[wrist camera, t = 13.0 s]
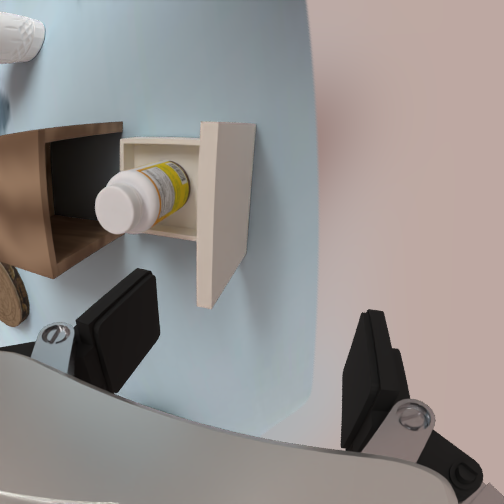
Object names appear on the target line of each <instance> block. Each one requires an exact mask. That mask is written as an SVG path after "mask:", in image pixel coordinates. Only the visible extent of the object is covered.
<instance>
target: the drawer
mask: <svg viewBox="0 0 504 504" xmlns="http://www.w3.org/2000/svg"><path fill="white" fill-rule="evenodd" d="M255 130H256V124H254V123H236V122H201V127H200V138H184V137H131V138H123V139H120V172H122V171H125V170H129V169H132V168H136V167H139V166H143V165H146V164H150V163H153V162H157V161H162V160H171V161H174V162H177V163H178V164H180V165H181V166H182V167H183V168H184V169H185V170H186V171H187V173H188V175H189V177H190V180H191V194H190V197H189V199H188V201H187V203H186V204H185V205H184V206H183V207H182V208H181V209H179V210H178V211H176V212H174V213H173V214H171V215H170V216H168V217H167V218H165V219H163V220H162V221H160V222H159V223H157V224H156V225H154V226H153V227H151V228H150V229H148V230H146V231H144V232H142V233H146V234H152V235H159V236H165V237H172V238H178V239H185V240H191V241H197V306H198V307H203V308H208V309H212V308H213V306H214V304H215V303H216V301H217V300H218V298H219V296H220V295H221V293H222V292H223V290H224V288H225V287H226V285H227V283H228V282H229V280H230V279H231V277H232V275H233V274H234V272H235V271H236V269H237V267H238V266H239V264H240V263H241V261H242V259H243V258H244V256H245V255H246V250H247V236H248V222H249V209H250V196H251V182H252V169H253V156H254V143H255Z"/></svg>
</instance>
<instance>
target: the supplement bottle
mask: <svg viewBox="0 0 504 504" xmlns="http://www.w3.org/2000/svg"><path fill="white" fill-rule="evenodd" d="M190 194H191V180H190V177H189V175H188V173H187V171H186V170H185V169H184V168H183V167H182V166H181V165H180V164H178V163H177V162H174V161H171V160H162V161H157V162H153V163H150V164H146V165H143V166H139V167H136V168H132V169H129V170H125V171H122V172H120V173H118V174H116V175H115V176H113V177H112V178H111V179H110V181H109V182H108V184H107V186H106V187H105V188H104V189H102V190H101V191H100V192H99V194H98V195H97V198H96V201H95V212H96V216H97V219H98V221H99V223H100V224H101V225H102V227H103V228H104V229H105V230H107V231H108V232H110V233H113V234H123V233H128V234H139V233H142V232H144V231H146V230H148V229H150V228H151V227H153V226H154V225H156V224H157V223H159V222H160V221H162V220H163V219H165V218H167V217H168V216H170V215H171V214H173V213H174V212H176V211H178V210H179V209H181V208H182V207H183V206H184V205H185V204H186V203H187V201H188V199H189V197H190Z"/></svg>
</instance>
